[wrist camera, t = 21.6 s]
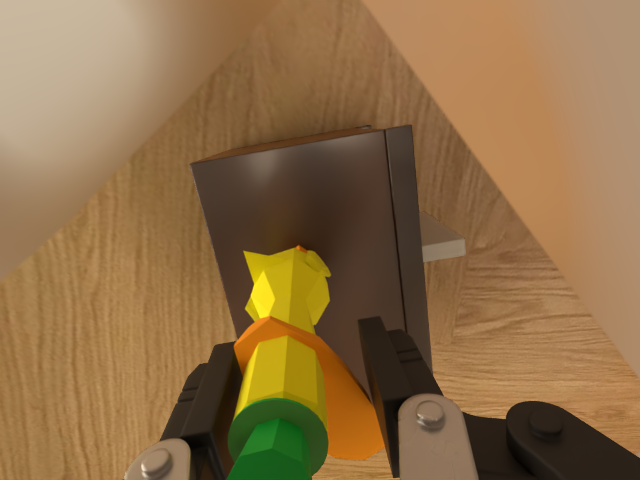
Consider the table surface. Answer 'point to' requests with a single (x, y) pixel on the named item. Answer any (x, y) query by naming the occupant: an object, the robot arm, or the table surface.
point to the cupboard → (325, 227)
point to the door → (439, 240)
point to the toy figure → (294, 379)
